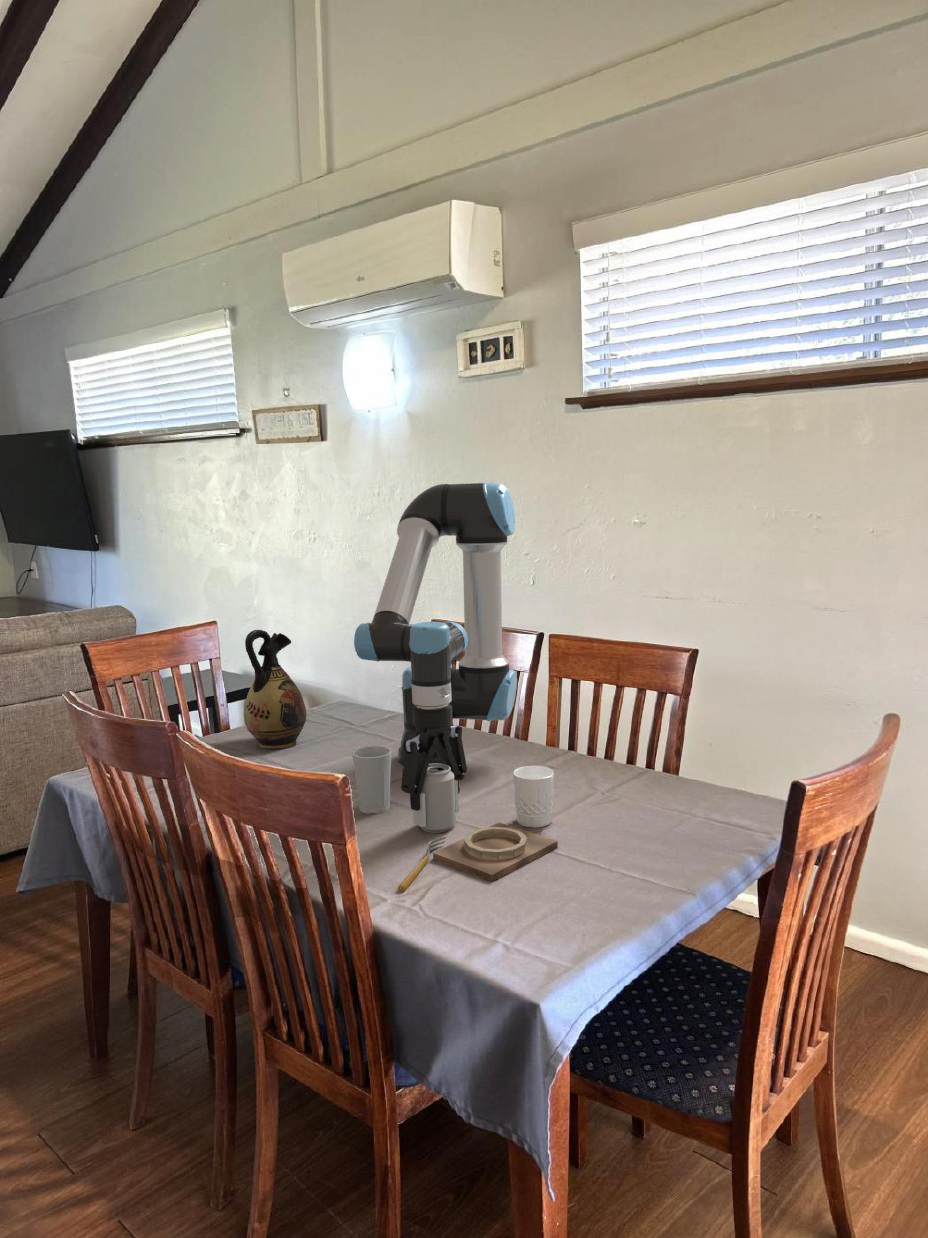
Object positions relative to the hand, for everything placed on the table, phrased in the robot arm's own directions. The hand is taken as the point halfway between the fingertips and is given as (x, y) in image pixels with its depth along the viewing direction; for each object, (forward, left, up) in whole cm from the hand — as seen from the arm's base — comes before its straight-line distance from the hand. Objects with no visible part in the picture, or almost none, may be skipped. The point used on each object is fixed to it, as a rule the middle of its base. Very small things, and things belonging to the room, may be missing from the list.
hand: (436, 817), depth 179 cm
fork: (+14, +11, -2) cm, 18 cm away
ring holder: (+2, +17, -2) cm, 17 cm away
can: (0, 0, -2) cm, 2 cm away
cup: (+1, -17, -2) cm, 17 cm away
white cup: (-14, +13, -2) cm, 19 cm away
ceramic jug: (-12, -70, -2) cm, 71 cm away
